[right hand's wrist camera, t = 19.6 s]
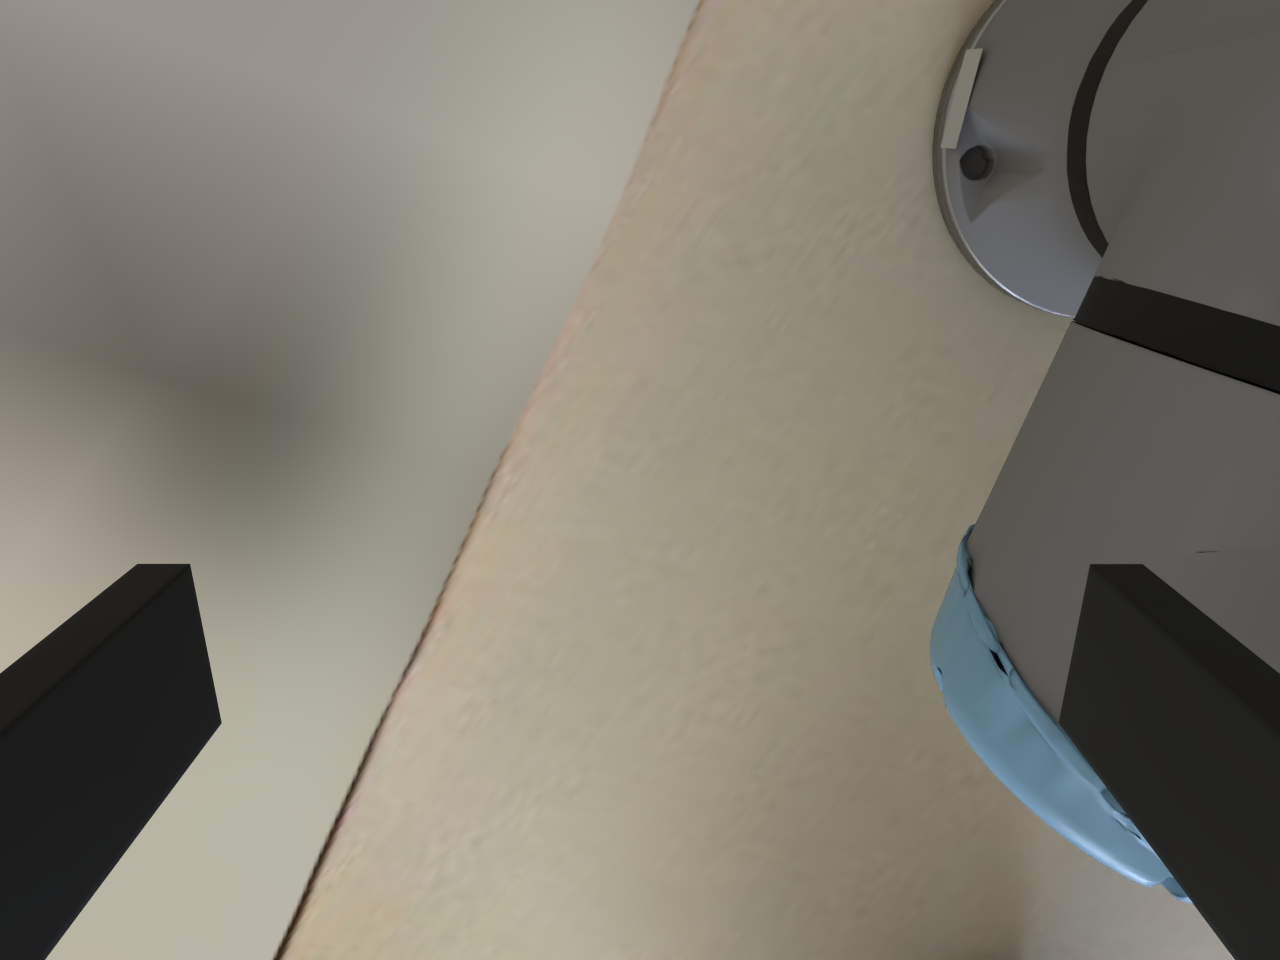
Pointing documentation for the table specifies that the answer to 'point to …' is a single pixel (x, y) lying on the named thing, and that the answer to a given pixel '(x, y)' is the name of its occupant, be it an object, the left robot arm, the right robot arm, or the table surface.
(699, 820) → the table surface
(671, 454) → the table surface
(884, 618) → the table surface
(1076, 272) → the right robot arm
